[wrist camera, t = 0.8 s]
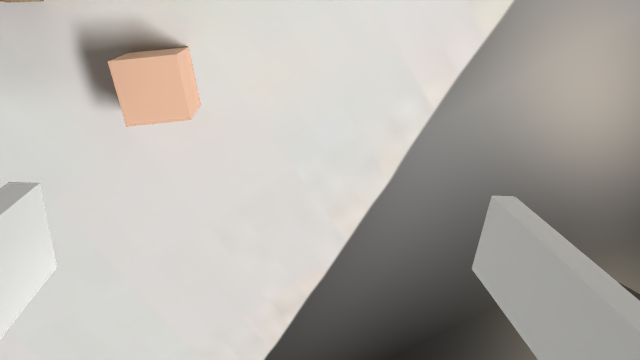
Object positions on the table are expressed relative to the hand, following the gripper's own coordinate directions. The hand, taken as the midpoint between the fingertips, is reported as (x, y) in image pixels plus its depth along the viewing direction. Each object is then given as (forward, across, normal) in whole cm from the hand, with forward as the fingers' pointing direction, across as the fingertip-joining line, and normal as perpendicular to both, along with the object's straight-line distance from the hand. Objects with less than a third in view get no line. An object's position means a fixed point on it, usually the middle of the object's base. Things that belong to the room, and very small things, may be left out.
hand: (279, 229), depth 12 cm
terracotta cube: (+27, -9, -1) cm, 29 cm away
